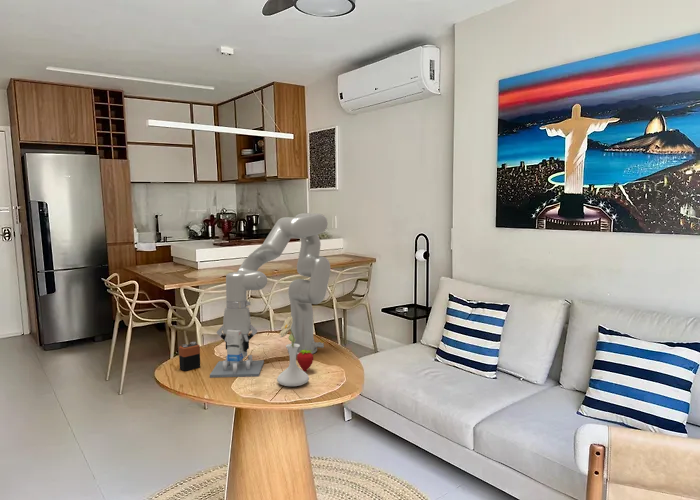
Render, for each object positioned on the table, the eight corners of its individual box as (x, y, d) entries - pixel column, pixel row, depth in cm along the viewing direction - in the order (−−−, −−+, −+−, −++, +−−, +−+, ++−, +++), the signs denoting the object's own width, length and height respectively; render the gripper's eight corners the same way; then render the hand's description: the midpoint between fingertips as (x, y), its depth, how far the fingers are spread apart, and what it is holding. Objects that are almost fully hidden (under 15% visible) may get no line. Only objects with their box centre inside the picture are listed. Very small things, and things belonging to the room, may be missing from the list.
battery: (200, 367, 188) (200, 342, 187) (184, 371, 184) (183, 346, 183) (195, 365, 191) (194, 340, 191) (179, 369, 187) (178, 344, 186)
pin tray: (263, 362, 194) (263, 351, 194) (258, 376, 178) (258, 364, 178) (218, 363, 193) (218, 352, 193) (209, 377, 177) (209, 365, 177)
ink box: (238, 362, 180) (238, 331, 179) (226, 361, 181) (225, 330, 180) (248, 355, 189) (247, 325, 188) (236, 354, 190) (235, 325, 189)
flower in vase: (280, 377, 177) (279, 310, 175) (310, 378, 176) (310, 310, 174) (273, 391, 164) (272, 319, 162) (306, 391, 163) (305, 319, 161)
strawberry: (307, 367, 188) (306, 342, 187) (316, 372, 182) (316, 347, 181) (293, 370, 185) (293, 344, 184) (303, 376, 178) (302, 349, 178)
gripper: (260, 302, 188) (261, 348, 189) (215, 303, 187) (216, 348, 188) (258, 306, 180) (258, 353, 182) (211, 307, 179) (212, 354, 181)
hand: (237, 350), depth 185 cm, fingers closed on ink box, 5 cm apart
